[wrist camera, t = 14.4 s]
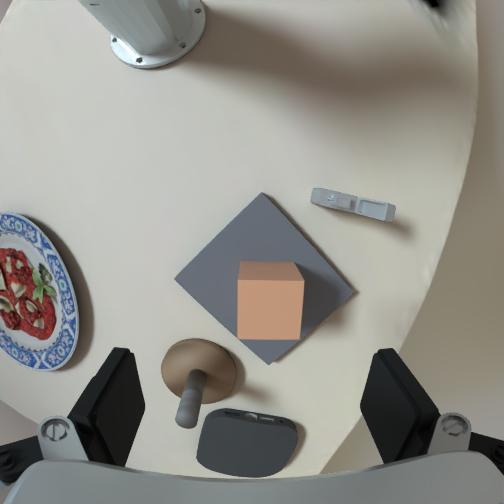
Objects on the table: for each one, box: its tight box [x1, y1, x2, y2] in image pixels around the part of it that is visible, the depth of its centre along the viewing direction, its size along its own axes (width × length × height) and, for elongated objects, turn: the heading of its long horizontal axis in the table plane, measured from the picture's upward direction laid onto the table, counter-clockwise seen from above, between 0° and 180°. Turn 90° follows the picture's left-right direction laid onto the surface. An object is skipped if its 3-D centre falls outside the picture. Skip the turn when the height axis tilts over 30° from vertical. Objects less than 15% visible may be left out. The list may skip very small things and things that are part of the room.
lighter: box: [310, 188, 396, 222], centre depth 31 cm, size 7×2×8 cm, turn 79°
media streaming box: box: [196, 408, 298, 478], centre depth 41 cm, size 15×15×3 cm
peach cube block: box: [237, 261, 304, 340], centre depth 32 cm, size 6×6×7 cm
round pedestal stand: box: [161, 339, 236, 429], centre depth 34 cm, size 10×10×10 cm
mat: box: [174, 192, 354, 365], centre depth 36 cm, size 16×14×2 cm
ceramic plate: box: [0, 212, 79, 371], centre depth 36 cm, size 26×26×3 cm
